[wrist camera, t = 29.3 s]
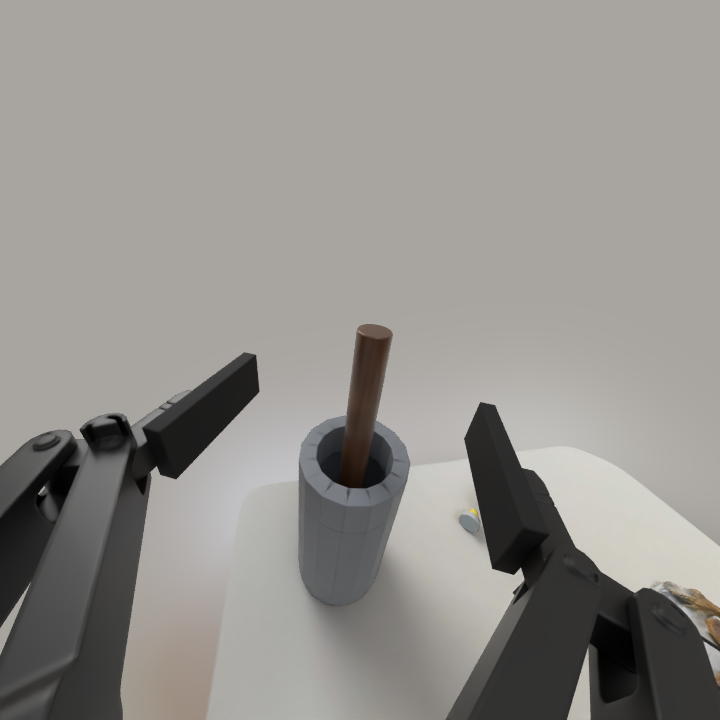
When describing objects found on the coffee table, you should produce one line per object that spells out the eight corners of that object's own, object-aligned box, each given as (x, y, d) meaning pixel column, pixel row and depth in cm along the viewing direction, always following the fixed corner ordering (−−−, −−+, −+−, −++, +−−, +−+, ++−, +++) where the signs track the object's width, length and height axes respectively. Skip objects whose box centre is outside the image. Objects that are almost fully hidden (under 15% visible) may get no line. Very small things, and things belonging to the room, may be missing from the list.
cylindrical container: (293, 608, 22) (291, 506, 15) (304, 514, 29) (306, 413, 22) (383, 604, 23) (422, 506, 16) (373, 514, 30) (397, 417, 23)
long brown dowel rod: (323, 570, 24) (346, 340, 13) (324, 533, 27) (345, 317, 15) (356, 569, 25) (410, 345, 13) (355, 533, 27) (397, 322, 16)
